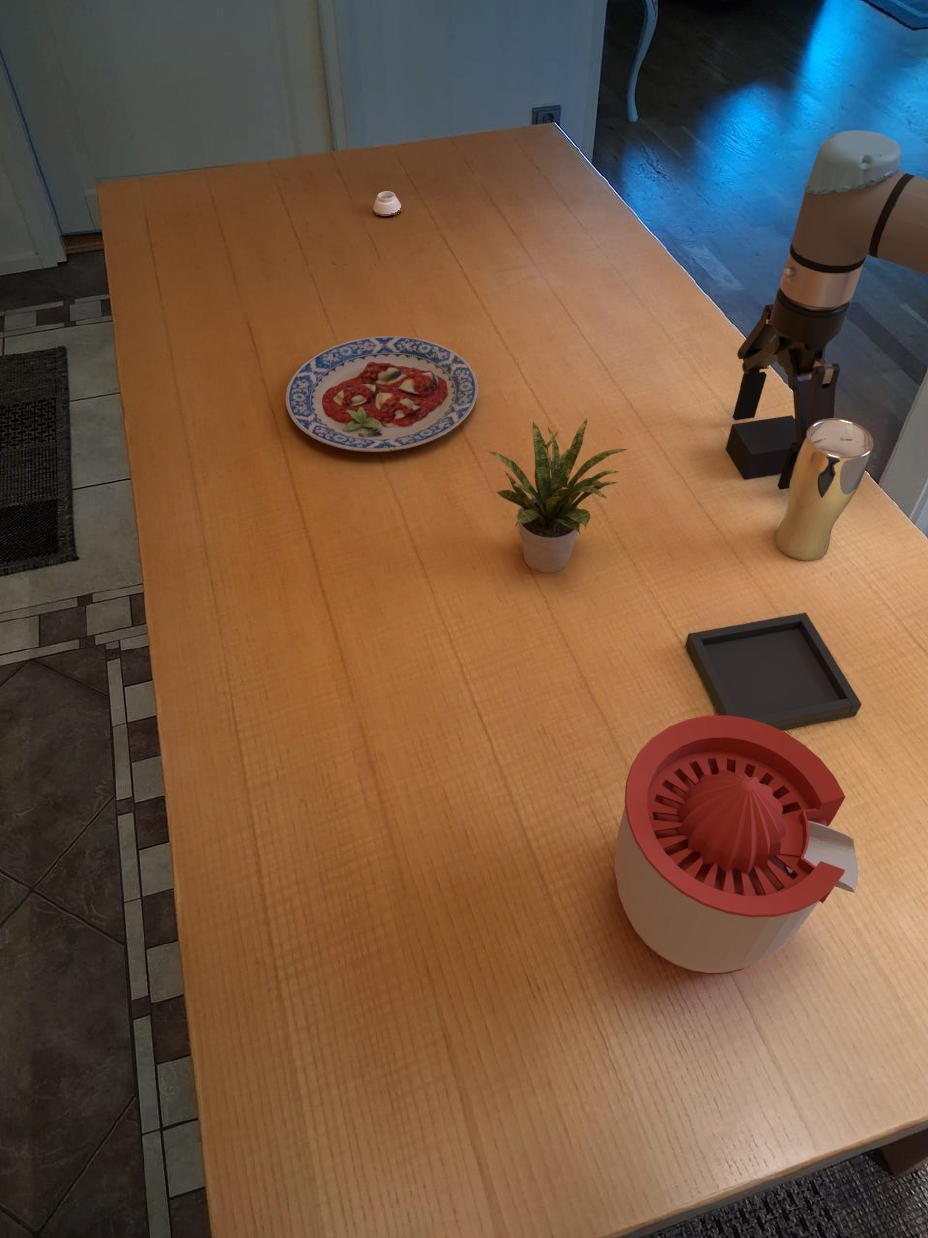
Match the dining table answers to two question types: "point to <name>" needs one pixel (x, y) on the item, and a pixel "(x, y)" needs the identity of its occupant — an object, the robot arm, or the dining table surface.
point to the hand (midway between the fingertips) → (765, 450)
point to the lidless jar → (386, 203)
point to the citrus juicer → (727, 842)
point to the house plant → (553, 500)
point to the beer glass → (822, 486)
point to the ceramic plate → (381, 393)
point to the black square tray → (772, 673)
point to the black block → (761, 445)
